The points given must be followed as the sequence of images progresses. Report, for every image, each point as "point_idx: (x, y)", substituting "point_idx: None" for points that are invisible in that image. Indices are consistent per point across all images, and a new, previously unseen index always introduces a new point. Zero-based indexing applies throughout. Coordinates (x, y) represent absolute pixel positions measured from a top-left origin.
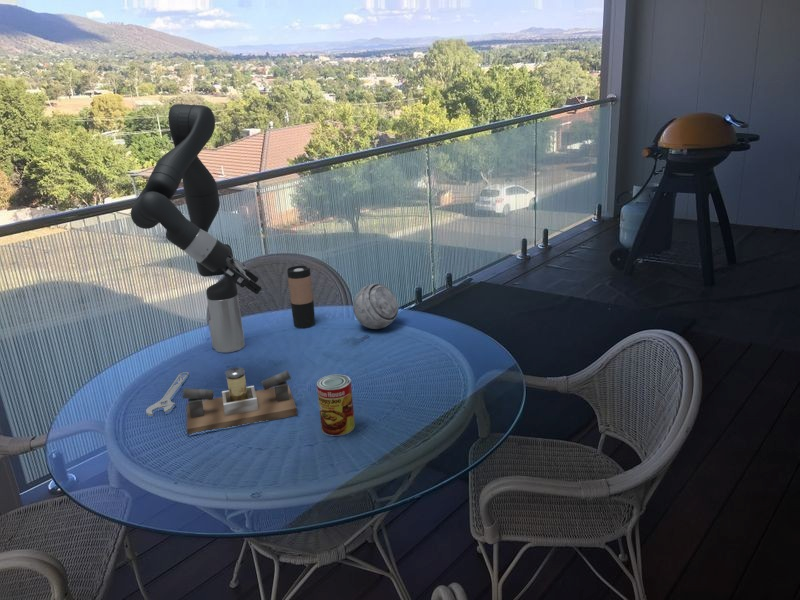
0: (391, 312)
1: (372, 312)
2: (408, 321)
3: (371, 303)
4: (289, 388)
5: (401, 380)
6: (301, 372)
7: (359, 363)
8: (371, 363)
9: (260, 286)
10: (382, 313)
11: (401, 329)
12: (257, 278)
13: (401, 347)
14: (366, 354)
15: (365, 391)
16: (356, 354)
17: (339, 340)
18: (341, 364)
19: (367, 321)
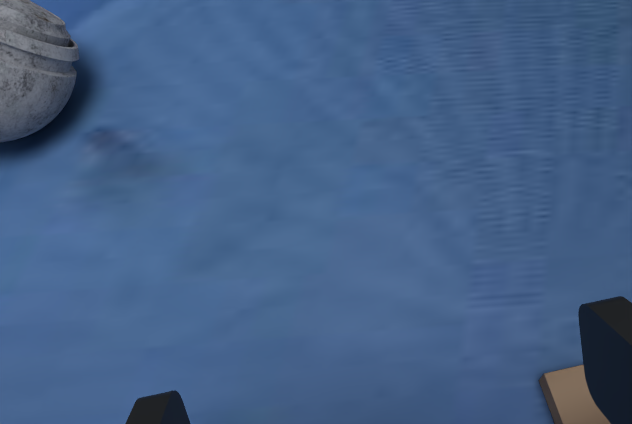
0: (53, 15)
1: (54, 53)
2: None
3: (18, 33)
4: (581, 365)
5: (478, 28)
6: (352, 343)
7: (319, 145)
8: (329, 110)
9: (595, 305)
10: (62, 32)
11: (86, 44)
12: (173, 403)
13: (228, 38)
14: (250, 128)
15: (552, 116)
16: (239, 158)
17: (90, 220)
18: (312, 200)
19: (58, 98)
